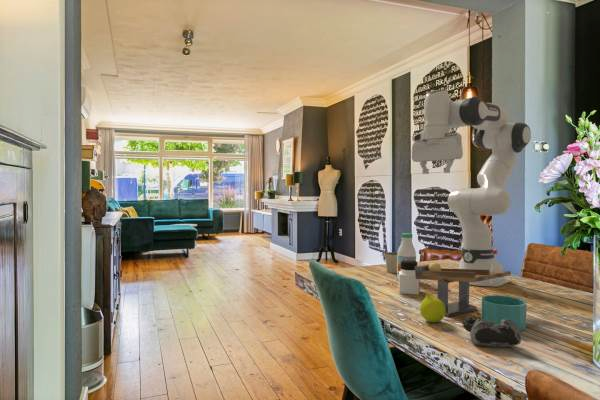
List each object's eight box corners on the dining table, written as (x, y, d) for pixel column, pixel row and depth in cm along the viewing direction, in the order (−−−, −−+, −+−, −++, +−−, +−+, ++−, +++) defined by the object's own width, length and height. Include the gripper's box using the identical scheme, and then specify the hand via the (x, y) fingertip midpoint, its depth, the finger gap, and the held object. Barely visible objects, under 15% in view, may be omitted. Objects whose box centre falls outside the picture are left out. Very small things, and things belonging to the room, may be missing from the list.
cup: (496, 316, 123) (496, 293, 123) (533, 326, 114) (534, 302, 114) (473, 322, 117) (473, 298, 117) (511, 334, 108) (512, 308, 108)
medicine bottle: (419, 294, 149) (419, 262, 148) (399, 293, 150) (399, 261, 150) (417, 290, 156) (418, 259, 155) (398, 289, 157) (398, 258, 157)
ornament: (416, 318, 122) (416, 284, 121) (439, 317, 122) (439, 284, 122) (425, 326, 114) (425, 290, 114) (449, 325, 115) (450, 290, 115)
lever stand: (457, 304, 136) (458, 274, 136) (476, 309, 130) (477, 278, 130) (429, 311, 129) (430, 279, 128) (448, 316, 123) (448, 283, 123)
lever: (452, 275, 147) (450, 261, 148) (511, 277, 129) (509, 261, 129) (416, 281, 137) (414, 266, 138) (474, 285, 119) (472, 267, 119)
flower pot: (380, 270, 195) (381, 252, 195) (399, 269, 196) (400, 251, 196) (387, 274, 185) (387, 255, 185) (407, 273, 186) (407, 254, 186)
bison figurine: (523, 352, 97) (509, 335, 107) (524, 323, 96) (509, 309, 106) (470, 349, 99) (460, 333, 109) (470, 321, 98) (461, 307, 108)
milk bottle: (393, 279, 174) (393, 232, 174) (408, 278, 177) (408, 232, 177) (404, 283, 167) (405, 234, 167) (419, 281, 170) (420, 233, 170)
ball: (435, 274, 138) (432, 262, 139) (444, 273, 135) (442, 261, 135) (427, 275, 136) (424, 263, 136) (436, 274, 132) (434, 262, 133)
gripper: (467, 132, 141) (466, 172, 141) (420, 138, 158) (420, 174, 158) (455, 130, 137) (454, 172, 138) (409, 137, 155) (408, 173, 155)
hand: (435, 173), depth 148 cm, fingers open, 8 cm apart
